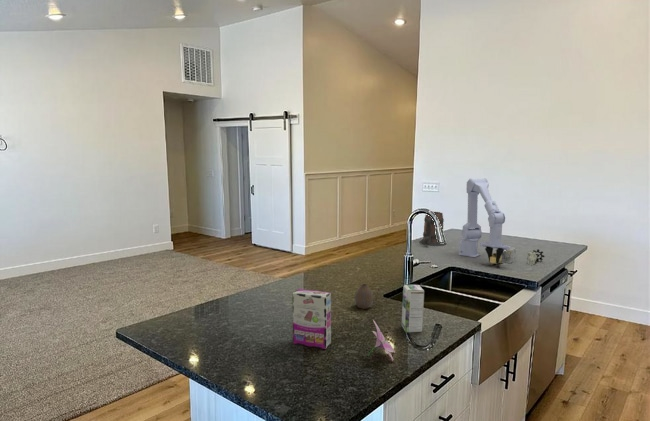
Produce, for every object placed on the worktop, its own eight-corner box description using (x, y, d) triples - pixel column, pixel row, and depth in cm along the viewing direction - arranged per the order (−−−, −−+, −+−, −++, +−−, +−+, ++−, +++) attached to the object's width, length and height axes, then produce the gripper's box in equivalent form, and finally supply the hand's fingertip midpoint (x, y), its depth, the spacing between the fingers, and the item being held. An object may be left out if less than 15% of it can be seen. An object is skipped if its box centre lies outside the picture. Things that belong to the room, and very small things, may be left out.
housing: (491, 260, 234) (492, 247, 233) (496, 257, 240) (497, 245, 239) (510, 263, 227) (511, 250, 226) (515, 260, 233) (516, 247, 232)
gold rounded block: (487, 264, 222) (487, 253, 222) (494, 260, 231) (495, 250, 230) (498, 266, 219) (498, 255, 218) (505, 262, 227) (506, 251, 227)
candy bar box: (331, 343, 133) (332, 292, 131) (326, 350, 129) (326, 297, 126) (298, 337, 137) (298, 287, 135) (292, 343, 133) (291, 292, 130)
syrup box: (401, 325, 146) (402, 284, 144) (418, 325, 147) (419, 284, 145) (405, 332, 141) (406, 290, 139) (423, 332, 141) (424, 289, 139)
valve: (536, 266, 222) (544, 262, 230) (537, 254, 221) (545, 250, 229) (522, 264, 227) (531, 260, 235) (523, 251, 226) (532, 248, 234)
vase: (367, 311, 159) (368, 288, 158) (351, 307, 163) (351, 285, 162) (375, 305, 165) (376, 283, 164) (359, 302, 169) (360, 280, 167)
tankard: (424, 239, 287) (425, 209, 284) (449, 242, 279) (451, 211, 276) (412, 246, 267) (413, 214, 264) (439, 249, 259) (440, 216, 256)
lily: (381, 375, 116) (399, 345, 116) (347, 348, 122) (364, 319, 121) (394, 369, 127) (411, 342, 126) (363, 345, 132) (379, 318, 132)
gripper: (478, 235, 221) (477, 260, 223) (507, 239, 212) (505, 265, 214) (483, 233, 227) (482, 258, 229) (512, 237, 217) (510, 263, 219)
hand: (493, 261), depth 222 cm, fingers closed on gold rounded block, 3 cm apart
